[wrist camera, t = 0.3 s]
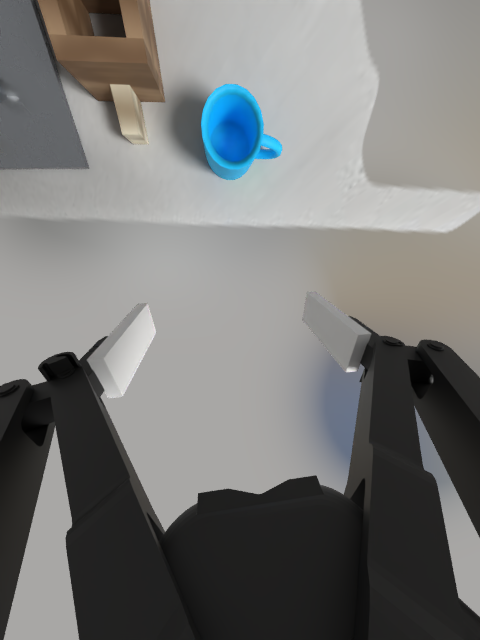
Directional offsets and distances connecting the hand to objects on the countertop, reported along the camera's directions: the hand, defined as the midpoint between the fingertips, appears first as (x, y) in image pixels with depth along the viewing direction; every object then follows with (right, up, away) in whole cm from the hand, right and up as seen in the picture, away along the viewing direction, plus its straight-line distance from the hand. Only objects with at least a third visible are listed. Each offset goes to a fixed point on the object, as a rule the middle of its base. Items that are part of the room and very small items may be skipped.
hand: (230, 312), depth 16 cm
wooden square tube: (-15, +34, +11) cm, 38 cm away
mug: (+1, +28, +16) cm, 32 cm away
